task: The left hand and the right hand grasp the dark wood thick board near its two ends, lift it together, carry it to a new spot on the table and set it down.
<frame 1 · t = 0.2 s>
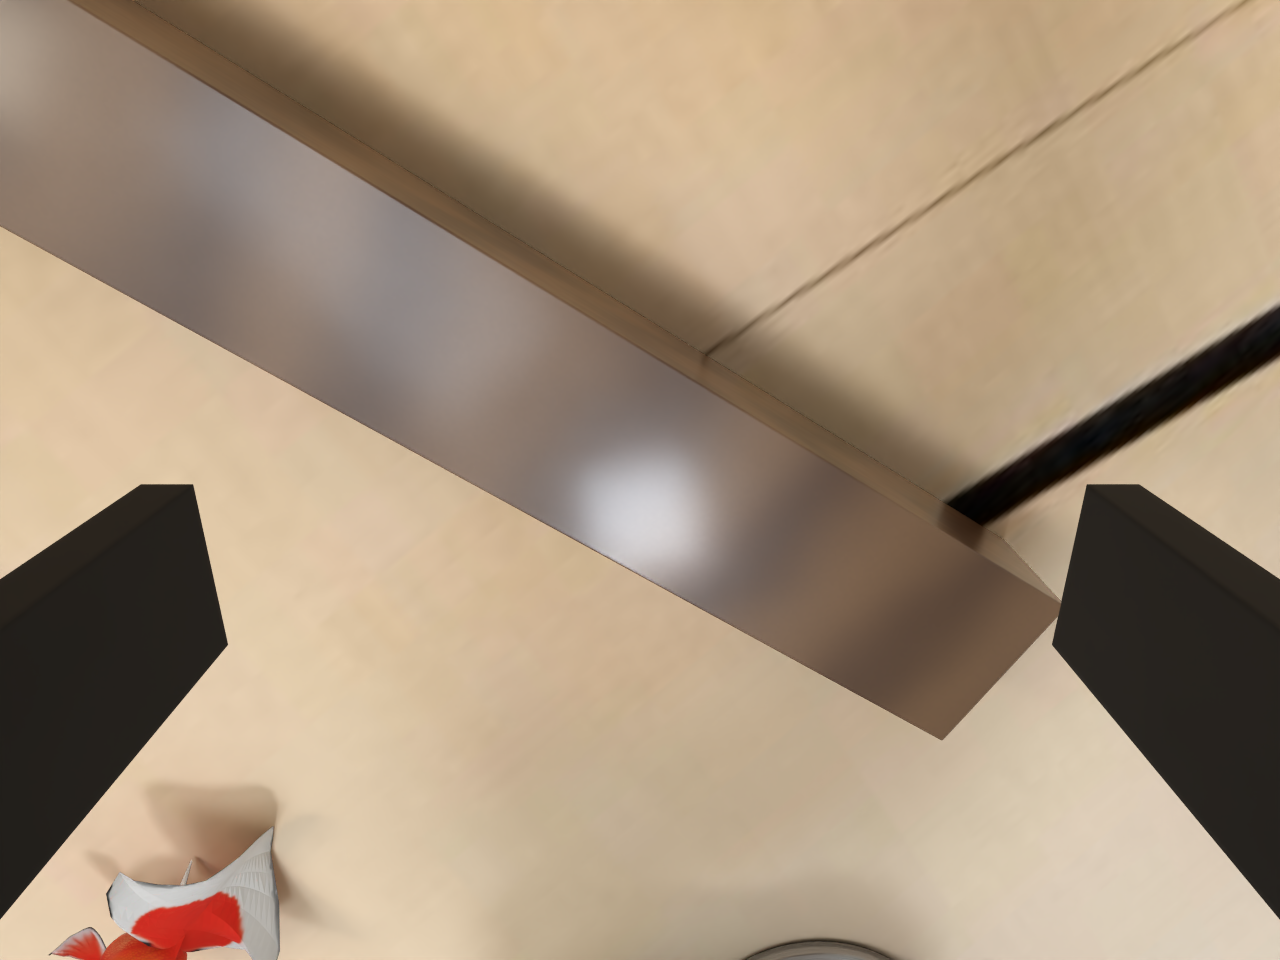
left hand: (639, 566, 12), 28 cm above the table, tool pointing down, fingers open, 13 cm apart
fish: (206, 874, 52), on the table
thick board: (442, 301, 38), on the table
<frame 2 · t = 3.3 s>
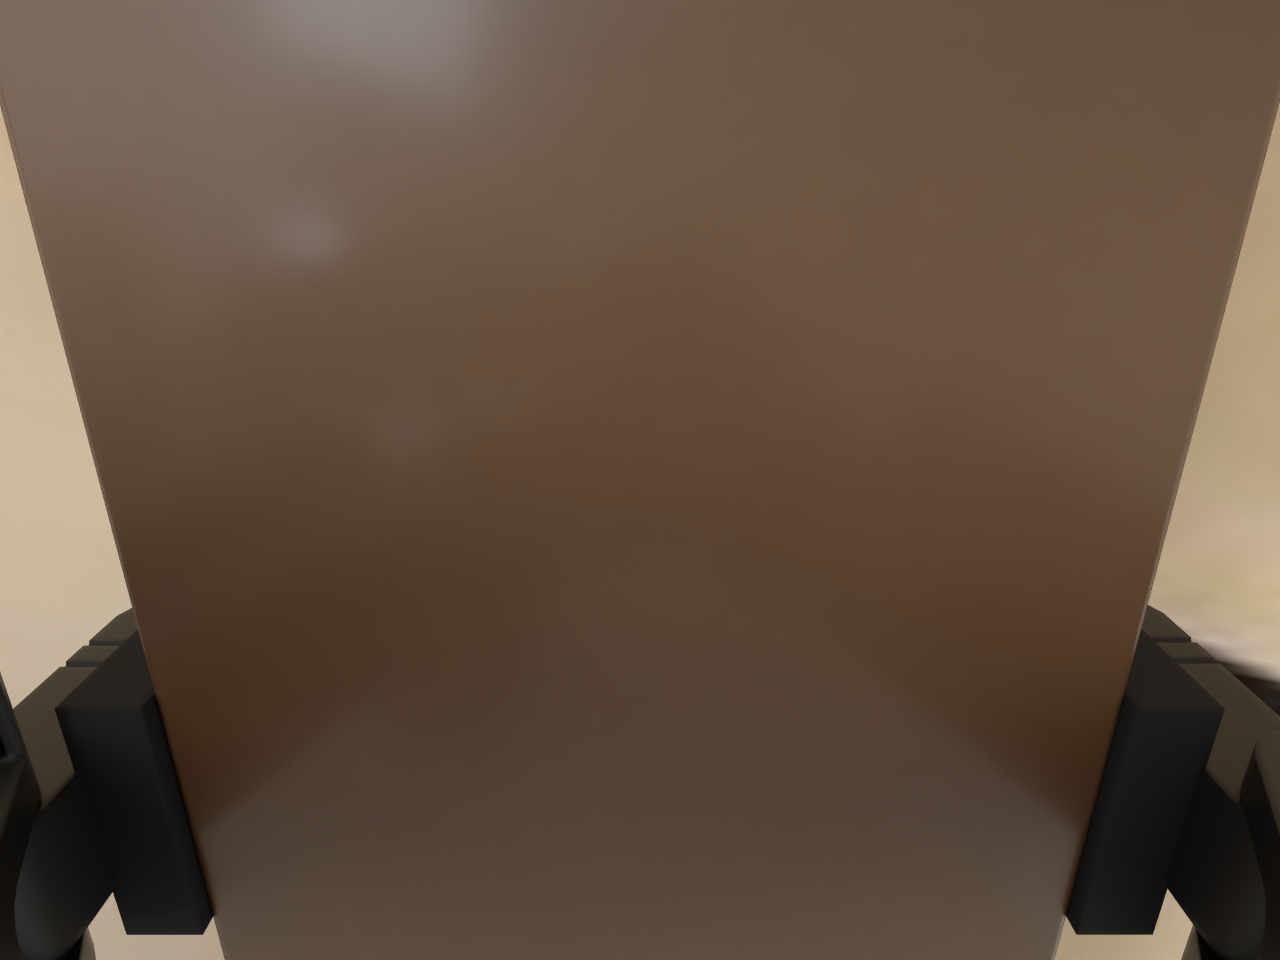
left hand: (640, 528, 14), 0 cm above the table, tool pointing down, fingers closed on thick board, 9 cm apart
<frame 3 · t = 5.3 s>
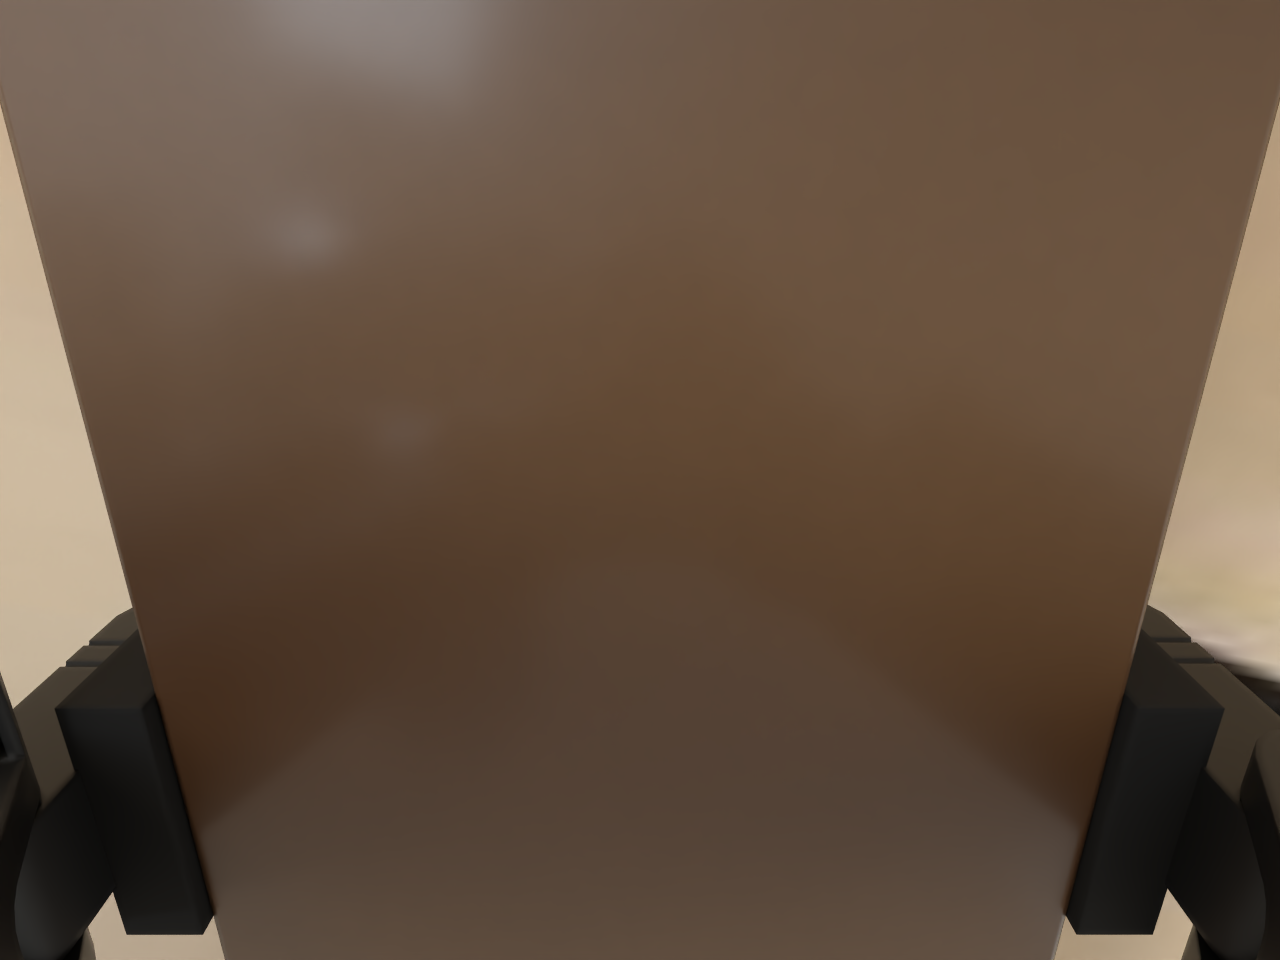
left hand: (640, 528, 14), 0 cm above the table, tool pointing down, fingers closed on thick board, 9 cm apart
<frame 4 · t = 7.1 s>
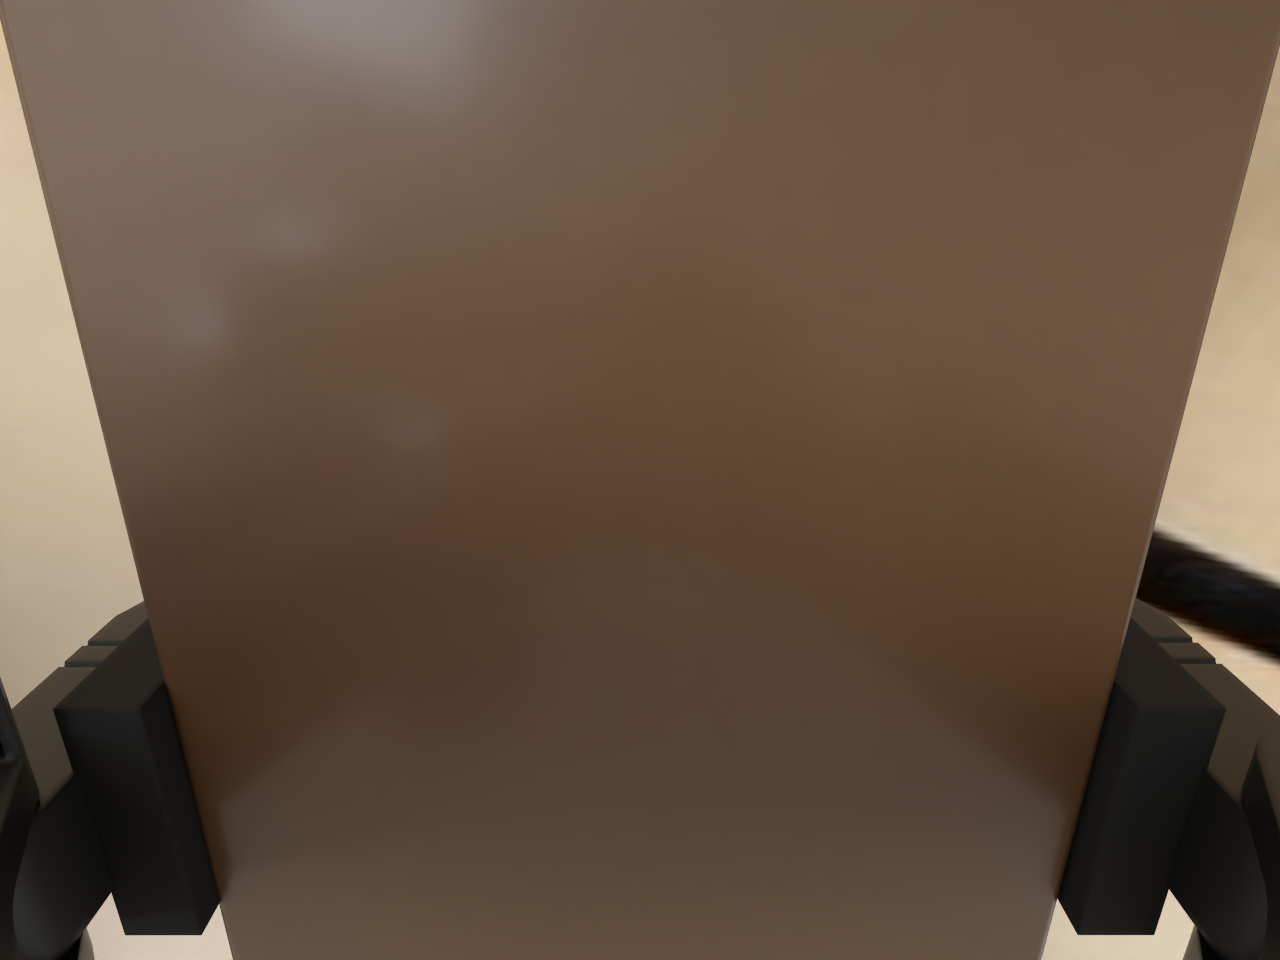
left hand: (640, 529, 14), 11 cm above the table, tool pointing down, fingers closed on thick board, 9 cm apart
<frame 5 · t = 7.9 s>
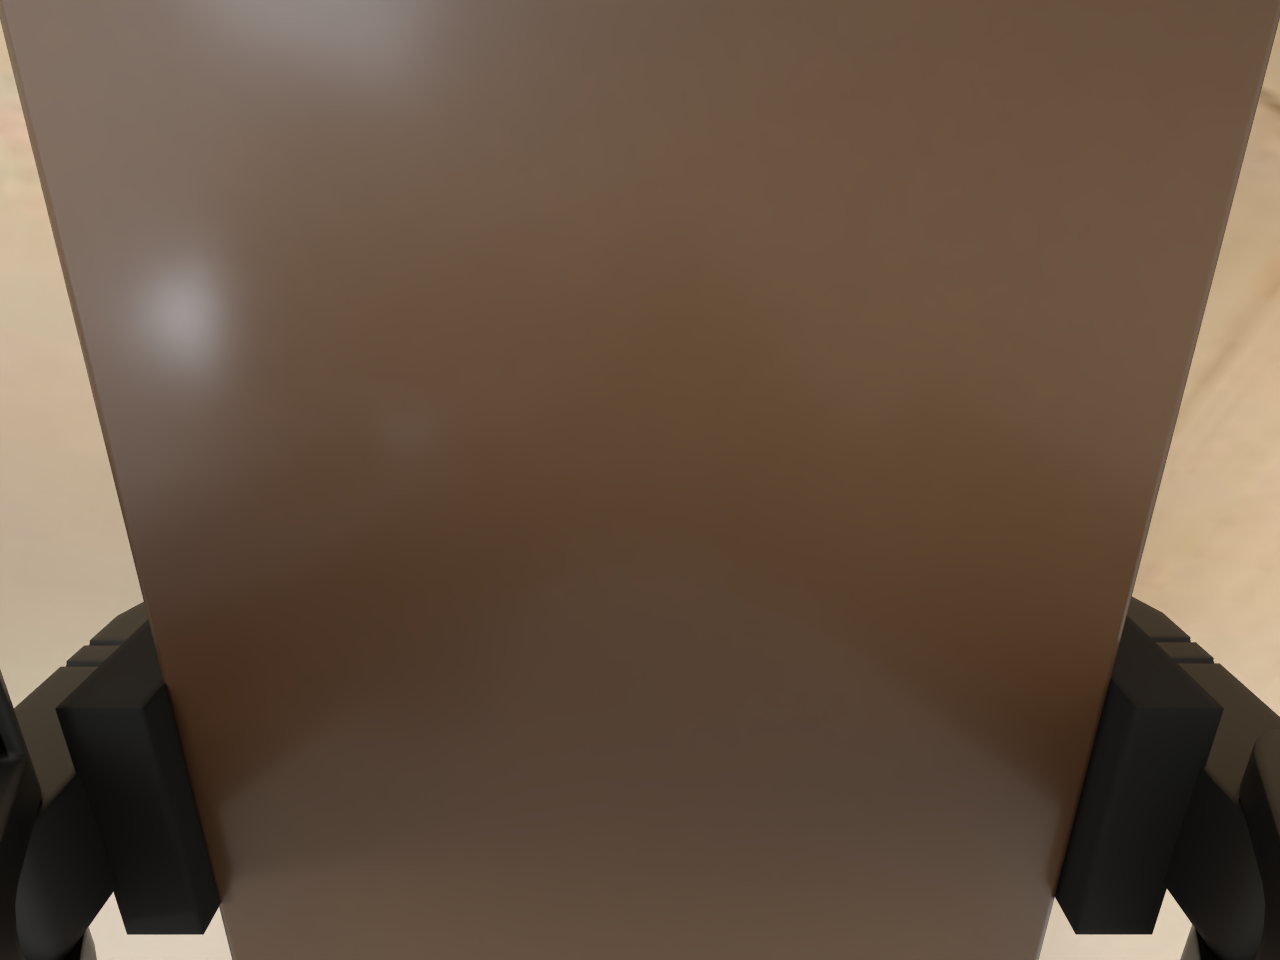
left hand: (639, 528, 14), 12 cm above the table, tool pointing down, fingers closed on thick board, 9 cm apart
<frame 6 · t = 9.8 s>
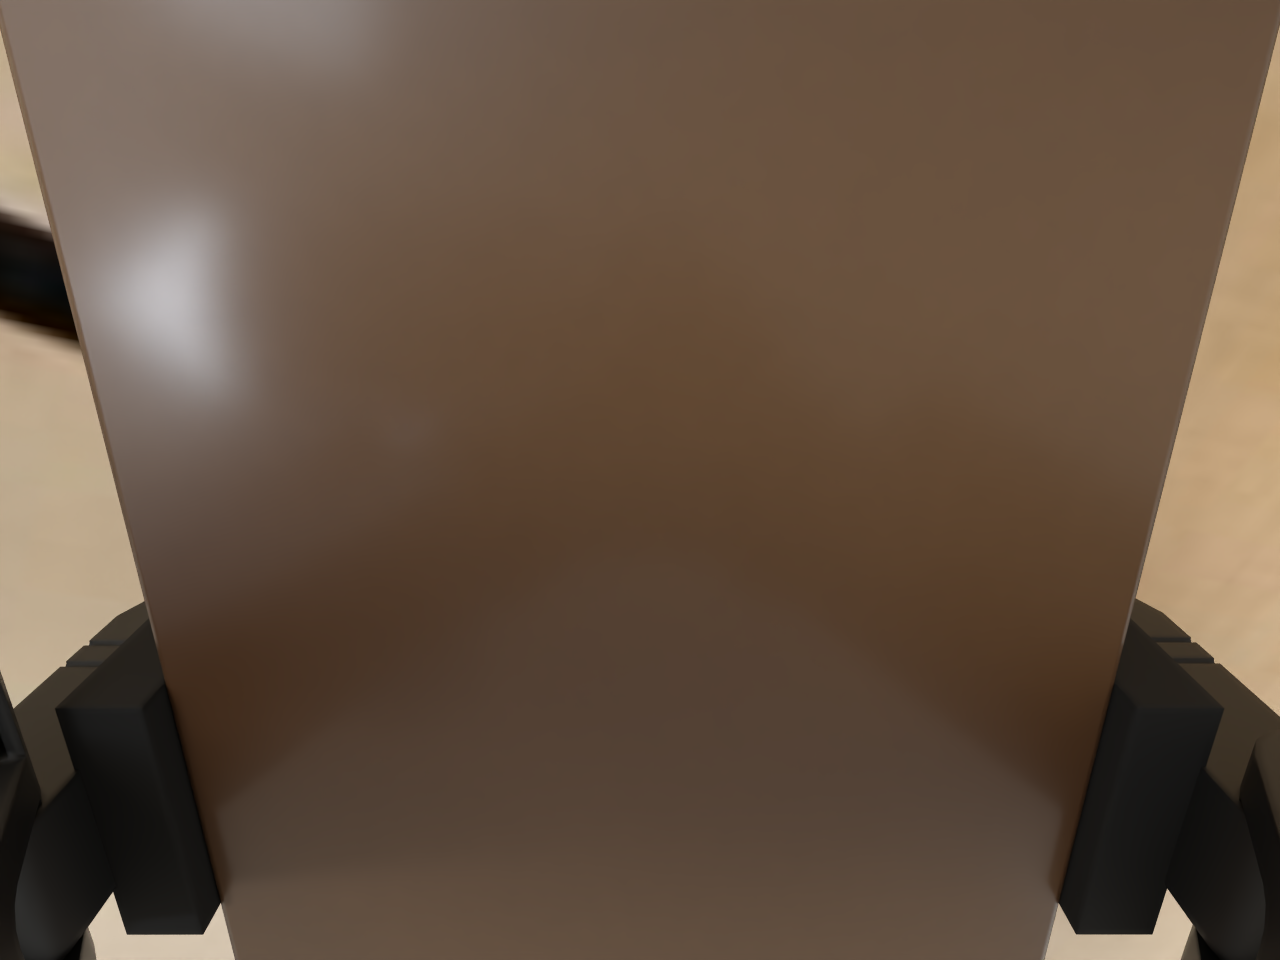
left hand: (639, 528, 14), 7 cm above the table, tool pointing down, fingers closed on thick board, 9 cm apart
when the left hand's fingers open (2 cm above the table, at t = 10.8 s): thick board drops 1 cm, on the table.
when the right hand's fingers open (2 cm above the table, at t = 10.9 s): thick board drops 1 cm, on the table.
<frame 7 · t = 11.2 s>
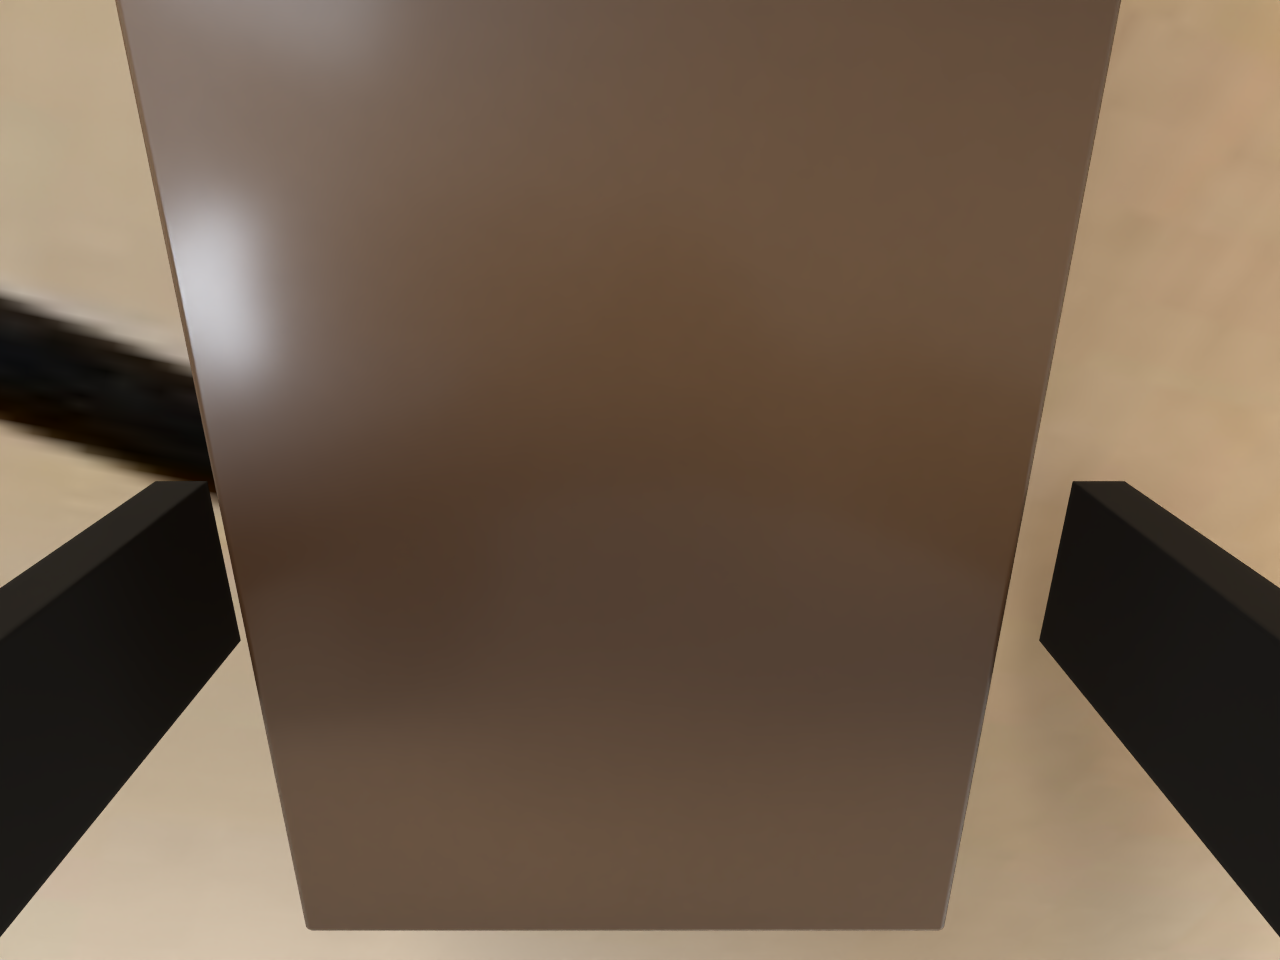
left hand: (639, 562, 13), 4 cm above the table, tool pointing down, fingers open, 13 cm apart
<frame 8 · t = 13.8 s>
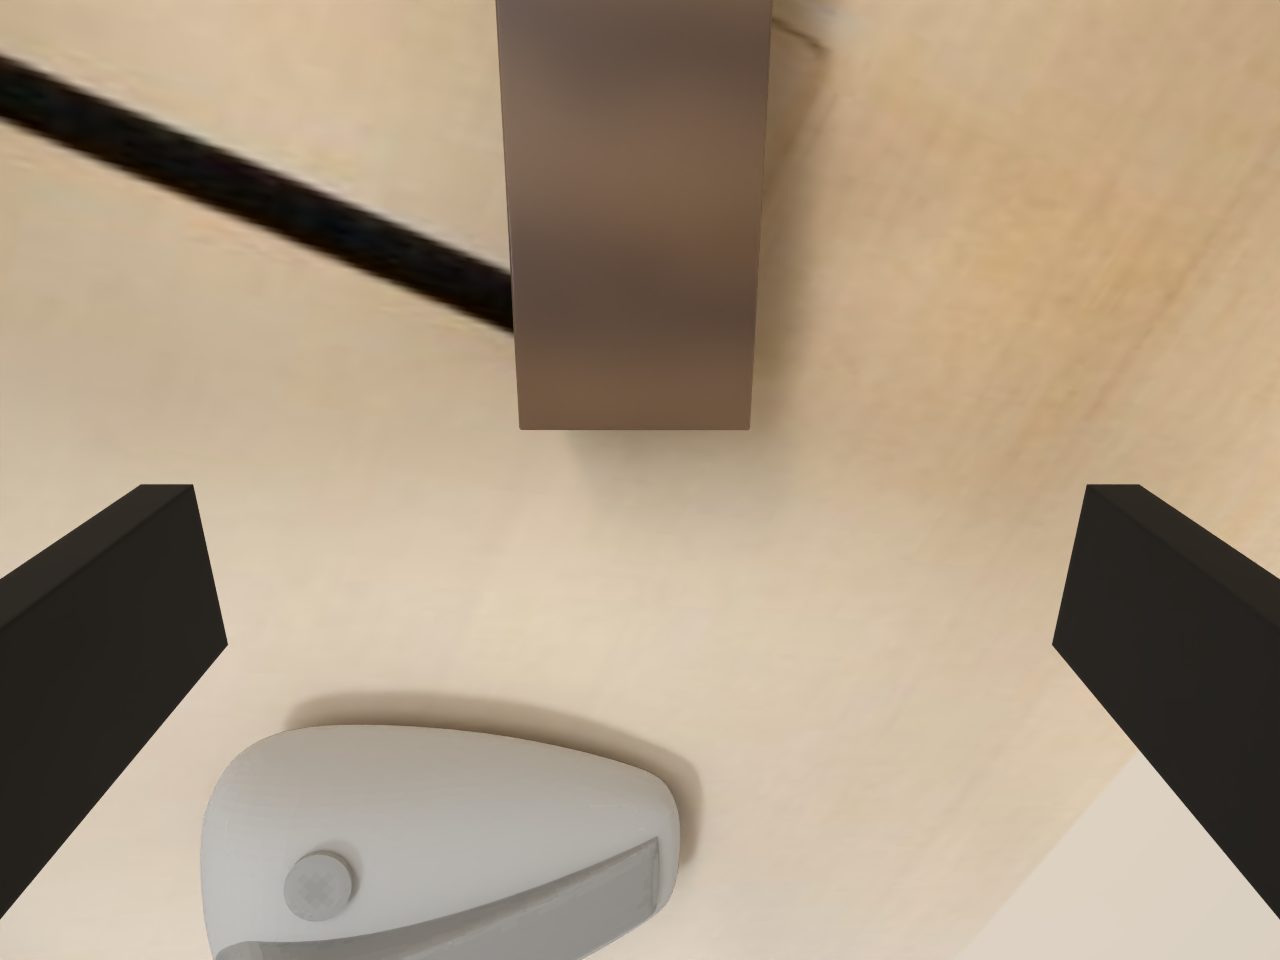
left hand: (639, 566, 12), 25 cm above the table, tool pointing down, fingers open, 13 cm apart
projector: (469, 809, 46), on the table
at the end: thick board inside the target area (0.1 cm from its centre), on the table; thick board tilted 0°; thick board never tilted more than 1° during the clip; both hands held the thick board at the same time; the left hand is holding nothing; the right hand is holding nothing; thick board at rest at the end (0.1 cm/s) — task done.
